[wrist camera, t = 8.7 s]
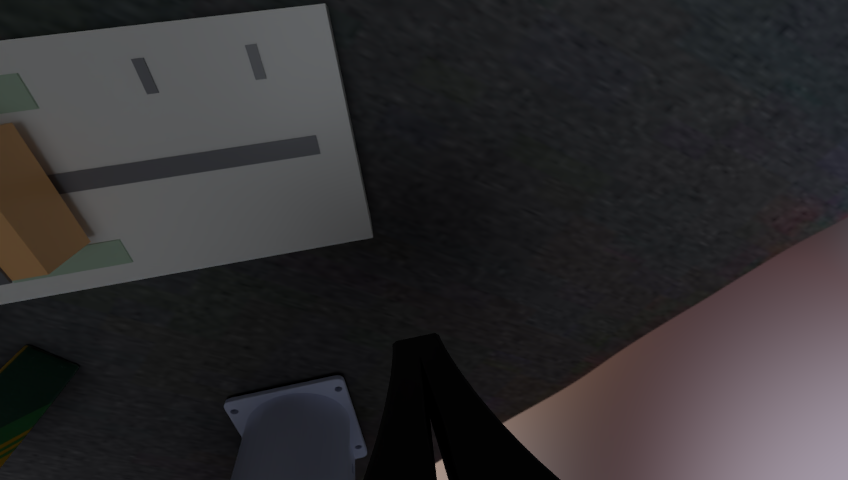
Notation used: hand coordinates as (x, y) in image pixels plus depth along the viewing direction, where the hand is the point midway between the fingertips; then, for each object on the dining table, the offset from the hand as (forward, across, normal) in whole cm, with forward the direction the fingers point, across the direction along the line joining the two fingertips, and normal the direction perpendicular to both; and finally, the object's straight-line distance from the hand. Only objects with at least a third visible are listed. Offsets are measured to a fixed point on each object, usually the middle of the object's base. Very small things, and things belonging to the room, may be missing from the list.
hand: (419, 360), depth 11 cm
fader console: (+10, +12, -5) cm, 17 cm away
